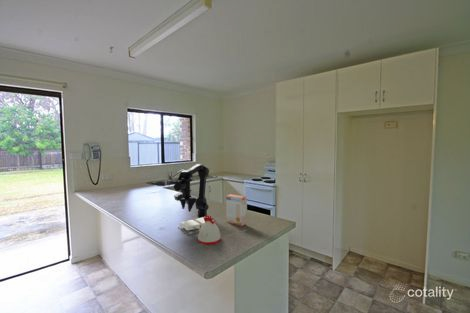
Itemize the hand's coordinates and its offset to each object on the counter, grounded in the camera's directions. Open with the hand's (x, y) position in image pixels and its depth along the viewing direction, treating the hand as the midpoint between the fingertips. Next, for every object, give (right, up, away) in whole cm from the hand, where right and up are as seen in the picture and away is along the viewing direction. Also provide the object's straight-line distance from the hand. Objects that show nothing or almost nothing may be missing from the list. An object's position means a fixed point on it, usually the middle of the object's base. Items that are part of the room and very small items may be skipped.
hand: (186, 210), depth 155 cm
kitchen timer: (+19, -13, -22) cm, 32 cm away
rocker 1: (+4, -8, -7) cm, 11 cm away
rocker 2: (+13, -8, 0) cm, 15 cm away
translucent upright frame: (+35, -12, +6) cm, 38 cm away
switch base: (+8, -12, -3) cm, 15 cm away
